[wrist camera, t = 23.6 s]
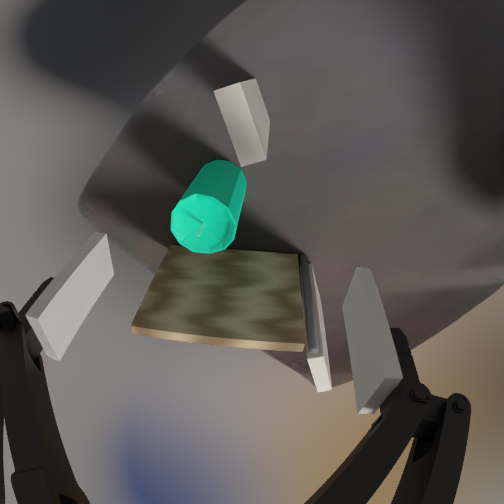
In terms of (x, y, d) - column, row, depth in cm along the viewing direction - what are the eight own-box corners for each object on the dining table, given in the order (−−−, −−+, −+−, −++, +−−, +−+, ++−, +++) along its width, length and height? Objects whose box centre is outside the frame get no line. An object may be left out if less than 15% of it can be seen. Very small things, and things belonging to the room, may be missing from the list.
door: (297, 254, 39) (304, 343, 27) (294, 271, 41) (299, 361, 29) (170, 244, 40) (130, 325, 28) (172, 262, 42) (136, 343, 29)
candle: (254, 170, 34) (245, 218, 24) (236, 213, 37) (220, 274, 27) (205, 151, 33) (173, 191, 23) (190, 196, 36) (157, 250, 26)
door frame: (255, 78, 28) (239, 82, 15) (320, 299, 44) (331, 389, 31) (240, 82, 29) (213, 91, 16) (309, 301, 44) (317, 392, 31)
